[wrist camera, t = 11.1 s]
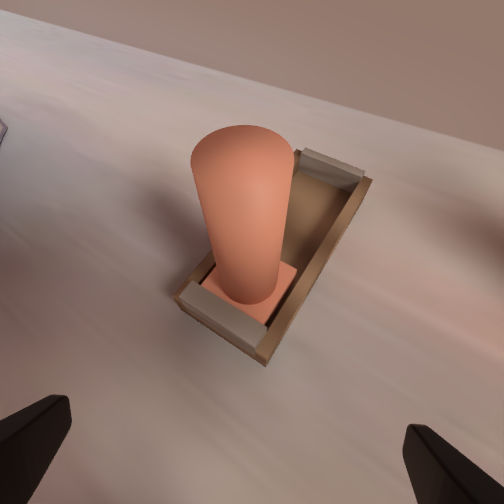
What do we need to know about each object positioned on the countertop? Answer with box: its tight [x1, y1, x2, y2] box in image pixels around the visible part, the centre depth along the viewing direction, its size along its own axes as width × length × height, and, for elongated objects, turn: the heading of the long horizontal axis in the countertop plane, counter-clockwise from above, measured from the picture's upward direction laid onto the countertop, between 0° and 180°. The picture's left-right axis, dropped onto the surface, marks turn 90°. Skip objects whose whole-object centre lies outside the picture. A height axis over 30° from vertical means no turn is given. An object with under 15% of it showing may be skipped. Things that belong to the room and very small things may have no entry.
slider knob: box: [191, 125, 297, 326], centre depth 15 cm, size 4×5×11 cm
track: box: [173, 148, 373, 367], centre depth 21 cm, size 16×7×4 cm, turn 147°
